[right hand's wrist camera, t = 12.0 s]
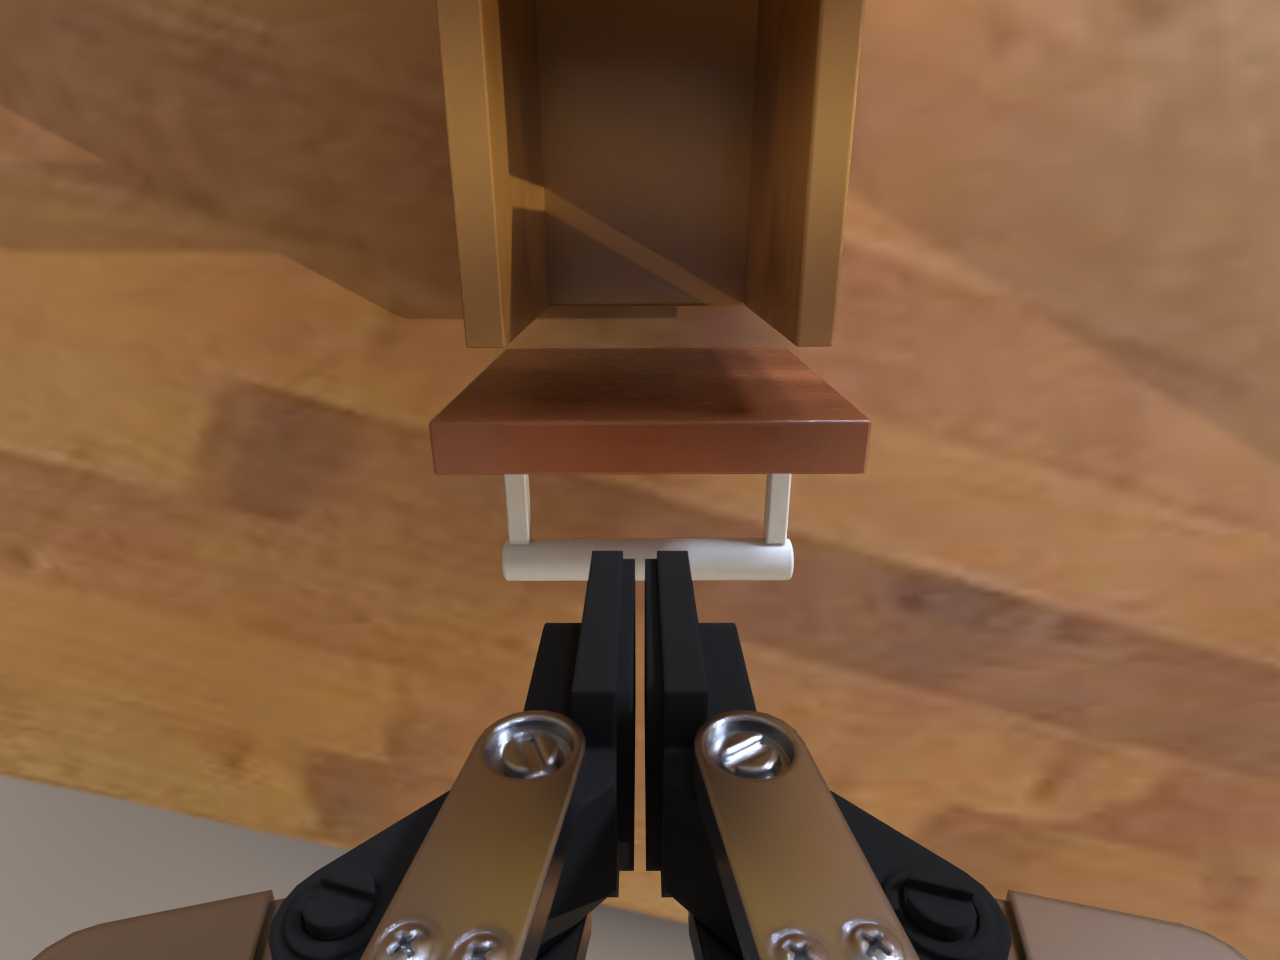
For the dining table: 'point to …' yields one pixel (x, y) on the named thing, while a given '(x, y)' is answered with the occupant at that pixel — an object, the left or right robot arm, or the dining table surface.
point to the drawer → (649, 249)
